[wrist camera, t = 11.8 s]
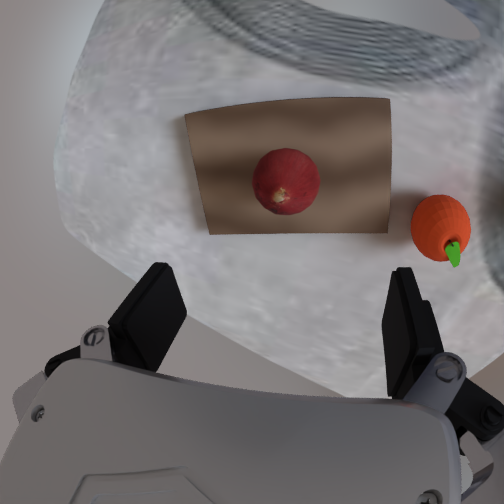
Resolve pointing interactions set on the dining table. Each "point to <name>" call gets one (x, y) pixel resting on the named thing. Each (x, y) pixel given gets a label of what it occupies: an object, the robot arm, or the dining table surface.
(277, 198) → the onion
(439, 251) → the clementine
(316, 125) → the board
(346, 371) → the dining table surface
